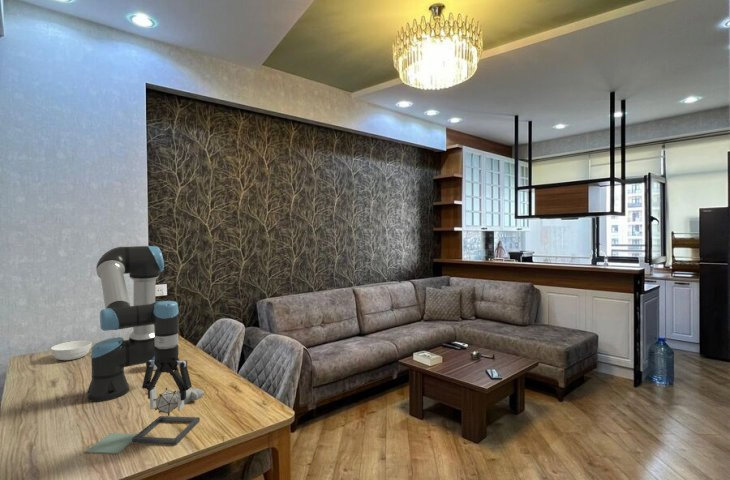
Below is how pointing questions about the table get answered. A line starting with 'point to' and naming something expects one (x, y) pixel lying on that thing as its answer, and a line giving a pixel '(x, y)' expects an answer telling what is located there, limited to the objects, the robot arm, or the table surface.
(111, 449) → the pad
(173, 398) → the game die
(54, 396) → the table surface
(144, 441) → the socket frame
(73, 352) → the bowl
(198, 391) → the grey teddy bear
